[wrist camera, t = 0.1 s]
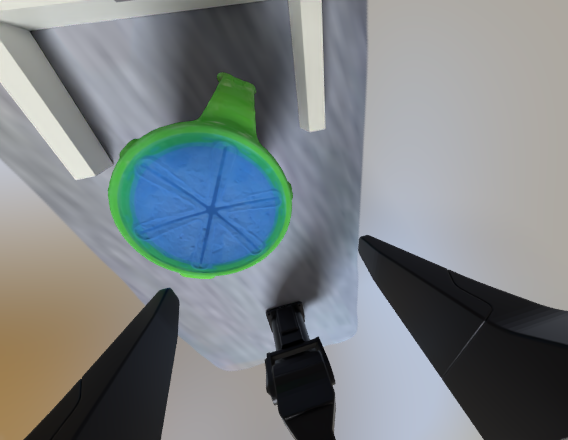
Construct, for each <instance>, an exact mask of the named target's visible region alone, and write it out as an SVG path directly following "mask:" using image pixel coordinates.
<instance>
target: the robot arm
mask: <svg viewBox="0 0 568 440" xmlns="http://www.w3.org/2000/svg"><path fill="white" fill-rule="evenodd" d="M358 251H359V254H360V256H361V258H362V260H363V261H364V263H365V265H366V267H367V269H368V271H369V272H370V274H371V276H372V278H373V280H374V281H375V282H376V284H377V286H378V287H379V289H380V290H381V292H382V293H383V294H384V296H385V297H386V299H387V300H388V302H389V303H390V305H391V306H392V307H393V309H394V310H395V312H396V313H397V315H398V316H399V318H400V319H401V320H402V322H403V323H404V325H405V326H406V328H407V329H408V331H409V332H410V333H411V335H412V336H413V338H414V339H415V341H416V342H417V344H418V345H419V346H420V348H421V349H422V351H423V352H424V354H425V355H426V357H427V358H428V359H429V361H430V362H431V364H432V365H433V367H434V368H435V369H436V371H437V372H438V374H439V375H440V377H441V378H442V380H443V381H444V383H445V384H446V386H447V387H448V388H449V390H450V391H451V393H452V394H453V396H454V397H455V399H456V400H457V401H458V403H459V404H460V406H461V407H462V409H463V410H464V411H465V413H466V414H467V416H468V417H469V418H470V420H471V422H472V423H473V425H474V426H475V427H476V429H477V430H478V432H479V433H480V435H481V436H482V438H483V439H484V440H568V311H564V310H559V309H554V308H550V307H547V306H543V305H540V304H537V303H534V302H532V301H529V300H526V299H524V298H521V297H518V296H515V295H513V294H510V293H507V292H504V291H502V290H499V289H496V288H493V287H491V286H488V285H486V284H483V283H480V282H477V281H475V280H473V279H470V278H467V277H465V276H463V275H460V274H458V273H456V272H453V271H451V270H447V269H446V268H444V267H441V266H439V265H437V264H435V263H432V262H430V261H427V260H425V259H423V258H420V257H418V256H416V255H414V254H411V253H409V252H406V251H404V250H402V249H400V248H397V247H395V246H393V245H390V244H388V243H386V242H383V241H381V240H379V239H376V238H374V237H372V236H369V235H365V236H361V237H360V238H359V246H358ZM266 316H267V319H268V322H269V325H270V328H271V330H272V332H273V335H274V341H275V346H276V351H275V352H272V353H270V352H269V353H267V358H266V359H265V365H266V390H267V393H268V394H269V395H270V396H271V398H272V400H273V403H274V405H278V411H279V414H280V416H281V418H282V420H283V422H284V424H285V425H286V427H287V429H288V430H289V432H290V433H291V435H292V436H293V437H294V439H295V440H336V439H335V436H334V424H335V412H336V403H335V392H334V389H333V386H332V385H334V384H335V379H334V375H333V372H332V369H331V366H330V363H329V360H328V358H327V355H326V353H325V351H324V348H323V346H322V343H321V341H320V339H319V337H316V338H315V339H312V340H310V339H309V336H308V333H307V330H306V326H305V323H304V322H305V319H304V313H303V307H302V303H301V302H296V303H293V304H290V305H286V306H283V307H279V308H276V309H273V310H269V311H267V312H266ZM178 321H179V299H178V297H177V296H176V294H175V293H174V292H173V290H172V289H171V288H166V289H162V290H160V291H158V292H157V294H156V295H155V296H154V297H153V298H152V299H151V300H150V301H149V303H148V304H147V305H146V306H145V307H144V308H143V309H142V310H141V312H140V313H139V314H138V315H137V316H136V317H135V318H134V319H133V321H132V322H131V323H130V324H129V325H128V326H127V327H126V328H125V329H124V331H123V332H122V333H121V334H120V335H119V336H118V337H117V338H116V340H115V341H114V342H113V343H112V344H111V345H110V346H109V347H108V349H107V350H106V351H105V352H104V353H103V354H102V355H101V356H100V357H99V359H98V360H97V361H96V362H95V363H94V364H93V365H92V366H91V367H90V369H89V370H88V371H87V372H86V373H85V374H84V376H83V377H82V379H80V380H79V381H78V382H77V383H76V384H75V385H74V386H73V388H72V389H71V390H70V391H69V392H68V393H67V394H66V395H65V396H64V398H63V399H62V400H61V401H60V402H59V403H58V404H57V405H56V406H55V407H54V409H53V410H52V411H51V412H50V413H49V414H48V415H47V416H46V417H45V418H44V419H43V420H42V421H41V422H40V423H39V424H38V425H37V427H35V428H34V429H33V430H32V432H31V433H30V434H29V435H28V436H27V437H26V438H25V439H24V440H161V434H162V429H163V422H164V416H165V410H166V404H167V398H168V392H169V386H170V380H171V374H172V368H173V362H174V356H175V349H176V344H177V337H178Z"/></svg>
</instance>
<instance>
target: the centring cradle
mask: <svg viewBox="0 0 568 440" xmlns="http://www.w3.org/2000/svg"><path fill="white" fill-rule="evenodd" d="M258 1H266V0H0V83H1V84H2V85H3V86H4V88H5V89H6V90H7V92H8V93H9V94H10V96H11V97H12V98H13V99H14V101H15V102H16V103H17V105H18V106H19V107H20V109H21V110H22V111H23V112H24V114H25V115H26V116H27V118H28V119H29V120H30V121H31V123H32V124H33V125H34V127H35V128H36V129H37V131H38V132H39V133H40V134H41V136H42V137H43V138H44V140H45V141H46V142H47V144H48V145H49V146H50V147H51V149H52V150H53V151H54V153H55V154H56V155H57V156H58V158H59V159H60V160H61V162H62V163H63V164H64V166H65V167H66V168H67V169H68V171H69V172H70V173H71V175H72V176H73V177H74V179H75V180H79V179H83V178H88V177H93V176H97V175H98V174H100V173H102V172H103V171H105V170H106V169H108V168H110V167H111V166H113V163H112V161H111V160H110V158H109V157H108V155H107V154H106V152H105V150H104V149H103V147H102V146H101V144H100V142H99V141H98V139H97V138H96V136H95V134H94V133H93V131H92V130H91V128H90V127H89V125H88V123H87V122H86V120H85V119H84V117H83V115H82V114H81V112H80V111H79V109H78V108H77V106H76V104H75V103H74V101H73V100H72V98H71V96H70V95H69V93H68V92H67V90H66V88H65V87H64V85H63V84H62V82H61V81H60V79H59V77H58V76H57V74H56V73H55V71H54V69H53V68H52V66H51V65H50V63H49V62H48V60H47V58H46V57H45V55H44V54H43V52H42V50H41V49H40V47H39V46H38V44H37V42H36V41H35V39H34V38H33V36H32V35H31V33H30V31H32V30H40V29H48V28H56V27H63V26H71V25H79V24H87V23H95V22H102V21H110V20H118V19H126V18H133V17H141V16H149V15H157V14H165V13H172V12H180V11H188V10H196V9H204V8H211V7H219V6H227V5H235V4H242V3H250V2H258ZM288 5H289V16H290V27H291V37H292V48H293V59H294V69H295V80H296V91H297V102H298V112H299V123H300V128H302V129H304V130H306V131H308V132H313V131H318V130H323V129H325V102H324V67H323V32H322V0H288Z"/></svg>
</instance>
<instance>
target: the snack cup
mask: <svg viewBox="0 0 568 440" xmlns="http://www.w3.org/2000/svg"><path fill="white" fill-rule="evenodd" d="M217 79H218V82H219V84H218V85H217V88H216V91H215V92H214V94H213V96H212V98H211V99H210V101H209V102H208V105H207V107H206V108H205V110H204V111H203V113H202V115H201V116H200V117H199V118H198V119H197V120H194V121H187V122H178V123H174V124H171V125H167V126H164V127H160V128H158V129H155V130H153V131H151V132H149V133H148V134H146V135H144V136H143V137H141V138H140V139H133V140H131V141H130V142H129V143H128V144H127V145H126V146H125V147H124V148H123V150H122V151H121V152H120V159H119V161H118V162H117V164H116V166H115V168H114V170H113V173H112V176H111V179H110V183H109V188H108V198H109V205H110V210H111V214H112V216H113V219H114V222H115V224H116V226H117V228H118V229H119V231H120V232H121V234H122V236H123V237H124V238H125V239H126V241H127V242H128V243H129V244H130V245H131V246H132V247H133V248H134V249H135V250H136V251H137V252H139V253H140V254H141V255H142V256H144V257H145V258H146V259H148V260H150V261H151V262H153V263H155V264H157V265H159V266H161V267H163V268H166V269H168V270H171V271H175V272H178V273H180V275H182V276H183V277H190V278H199V279H211V278H214V277H215V276H220V275H227V274H232V273H236V272H239V271H242V270H244V269H247V268H249V267H251V266H253V265H255V264H256V263H258V262H260V261H261V260H263V259H264V258H265V257H267V256H268V255H269V254H270V253H271V252H272V251H273V250H274V249H275V248H276V247H277V246H278V244H279V243H280V242H281V240H282V239H283V237H284V235H285V233H286V231H287V229H288V226H289V223H290V218H291V212H292V199H293V193H292V187H291V184H290V183H289V182H288V181H287V179H286V177H285V174H284V173H283V171H282V169H281V167H280V166H279V164H278V163H277V161H276V160H275V159H274V157H273V156H272V155H271V154H270V153H269V152H268V151H267V150H266V149H265V148H264V147H263V146H262V145H261V144H260V142H259V141H258V138H257V134H256V121H255V108H254V105H255V101H254V94H256V89H255V87H254V85H252V84H250V83H249V82H246V81H242V80H241V79H238V78H235V77H233V76H232V75H230V74H227V73H224V72H221V73H219V74H218V75H217Z"/></svg>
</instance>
